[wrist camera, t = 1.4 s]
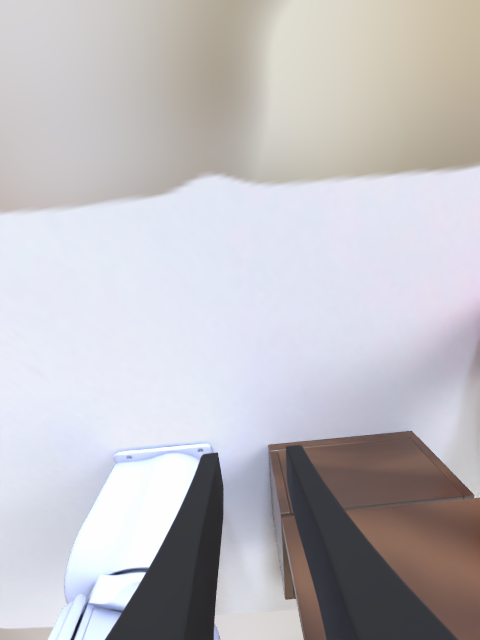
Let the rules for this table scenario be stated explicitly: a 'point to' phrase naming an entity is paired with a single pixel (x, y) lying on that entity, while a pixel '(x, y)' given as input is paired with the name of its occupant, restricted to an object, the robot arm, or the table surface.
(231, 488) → the table surface
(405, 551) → the box lid
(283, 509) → the box
